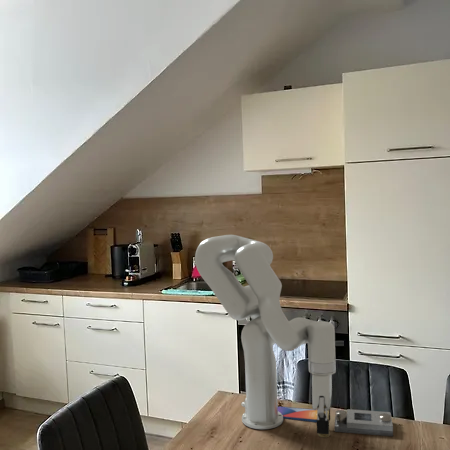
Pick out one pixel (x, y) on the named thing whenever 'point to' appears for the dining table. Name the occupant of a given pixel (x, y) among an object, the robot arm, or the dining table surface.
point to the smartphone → (298, 414)
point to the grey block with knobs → (364, 422)
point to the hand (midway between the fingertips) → (323, 426)
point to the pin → (324, 434)
